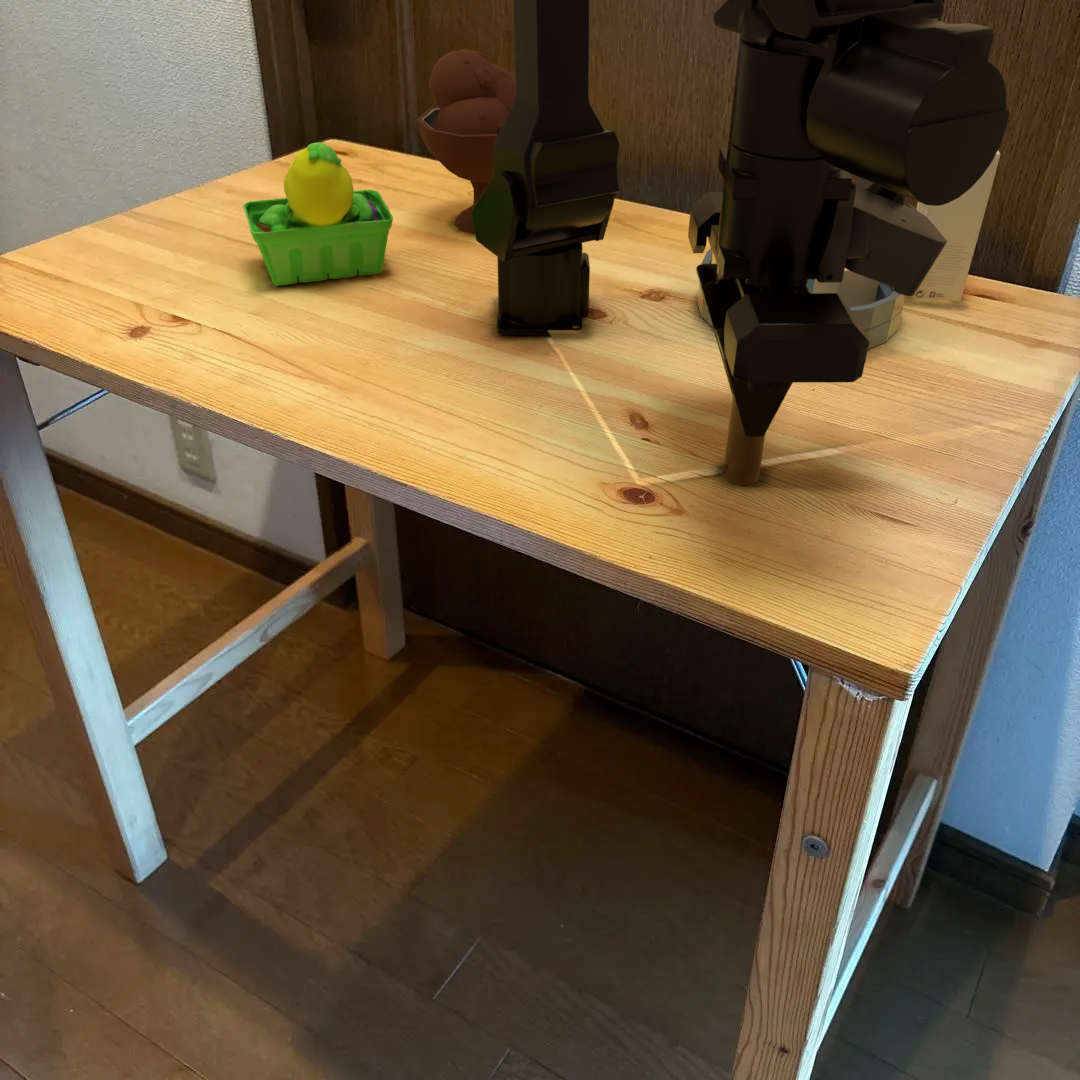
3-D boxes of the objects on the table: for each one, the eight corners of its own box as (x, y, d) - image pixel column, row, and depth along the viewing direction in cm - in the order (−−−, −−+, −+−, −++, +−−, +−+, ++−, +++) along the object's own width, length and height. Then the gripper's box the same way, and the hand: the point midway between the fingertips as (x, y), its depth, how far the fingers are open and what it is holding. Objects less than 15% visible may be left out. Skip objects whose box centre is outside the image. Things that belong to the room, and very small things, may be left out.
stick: (725, 485, 62) (748, 317, 56) (719, 465, 64) (741, 300, 57) (761, 485, 62) (788, 317, 56) (755, 465, 64) (780, 300, 57)
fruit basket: (381, 244, 92) (369, 112, 85) (403, 283, 86) (391, 143, 79) (251, 260, 89) (227, 124, 83) (263, 301, 83) (238, 158, 76)
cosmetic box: (960, 308, 82) (1002, 154, 75) (905, 303, 83) (940, 150, 75) (952, 277, 87) (990, 129, 80) (899, 273, 87) (933, 126, 80)
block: (833, 314, 80) (841, 270, 78) (811, 295, 83) (819, 253, 80) (873, 308, 81) (882, 265, 78) (851, 290, 83) (859, 248, 81)
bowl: (712, 363, 75) (718, 312, 72) (686, 277, 87) (691, 231, 84) (922, 363, 75) (935, 312, 72) (867, 277, 87) (877, 230, 84)
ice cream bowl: (502, 254, 90) (498, 71, 81) (401, 229, 95) (386, 53, 86) (564, 217, 98) (567, 44, 88) (467, 195, 102) (460, 29, 93)
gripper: (1020, 209, 44) (933, 508, 53) (896, 91, 59) (846, 342, 68) (757, 209, 44) (717, 509, 53) (699, 91, 58) (676, 342, 68)
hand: (747, 415), depth 61 cm, fingers open, 4 cm apart
